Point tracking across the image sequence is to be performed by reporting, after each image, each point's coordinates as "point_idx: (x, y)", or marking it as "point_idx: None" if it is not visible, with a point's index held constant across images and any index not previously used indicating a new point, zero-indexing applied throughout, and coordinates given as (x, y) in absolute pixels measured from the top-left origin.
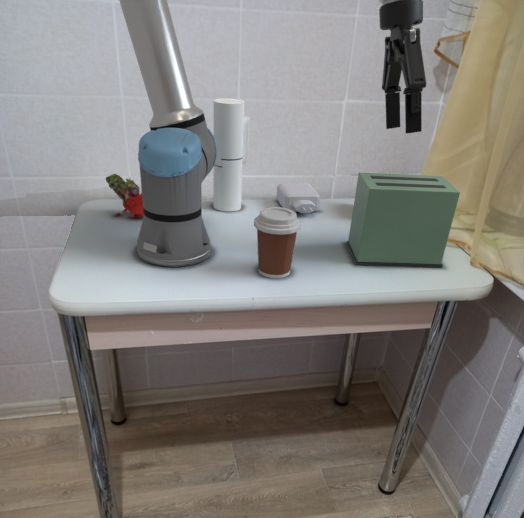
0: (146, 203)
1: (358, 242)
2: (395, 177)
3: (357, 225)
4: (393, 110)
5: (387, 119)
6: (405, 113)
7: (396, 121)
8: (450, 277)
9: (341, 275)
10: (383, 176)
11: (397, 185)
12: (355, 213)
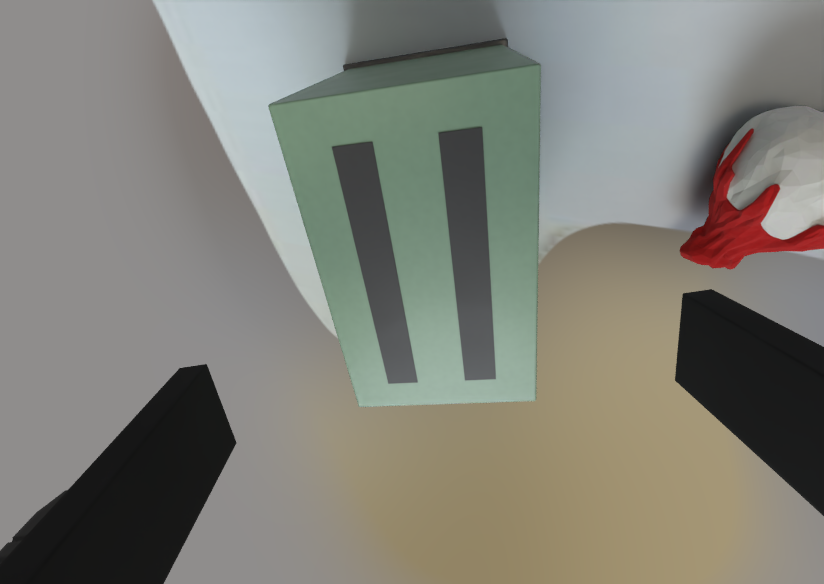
0: None
1: (361, 70)
2: (477, 242)
3: (404, 66)
4: (781, 415)
5: (734, 326)
6: (126, 453)
7: (705, 380)
8: None
9: (263, 13)
10: (483, 192)
11: (359, 234)
12: (463, 59)
